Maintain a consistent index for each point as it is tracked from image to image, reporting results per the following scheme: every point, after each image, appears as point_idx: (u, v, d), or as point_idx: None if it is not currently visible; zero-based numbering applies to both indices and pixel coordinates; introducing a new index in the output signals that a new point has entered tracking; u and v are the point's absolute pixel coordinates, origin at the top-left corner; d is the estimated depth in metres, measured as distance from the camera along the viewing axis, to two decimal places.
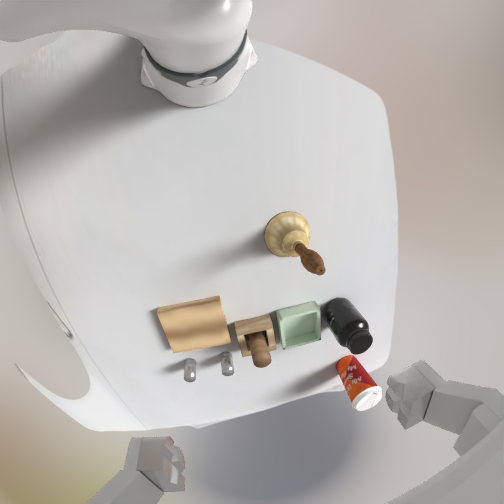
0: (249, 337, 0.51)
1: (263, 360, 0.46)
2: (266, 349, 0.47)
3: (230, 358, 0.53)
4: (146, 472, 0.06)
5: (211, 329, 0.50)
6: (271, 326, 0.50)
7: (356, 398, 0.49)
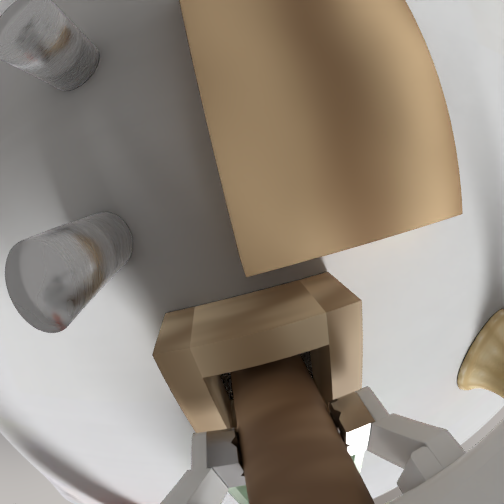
0: (294, 368, 0.09)
1: None
2: None
3: (112, 276, 0.08)
4: (218, 468, 0.06)
5: (352, 161, 0.08)
6: None
7: None
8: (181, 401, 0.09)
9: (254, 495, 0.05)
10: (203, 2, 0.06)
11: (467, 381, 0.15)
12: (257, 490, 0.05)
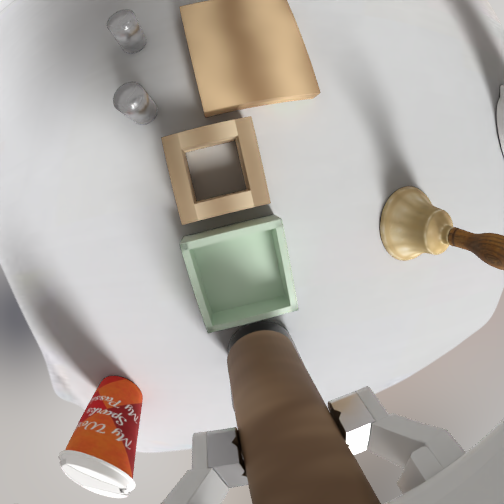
0: (293, 367, 0.09)
1: None
2: None
3: (148, 115, 0.19)
4: (219, 468, 0.06)
5: (248, 71, 0.19)
6: (260, 202, 0.21)
7: (93, 460, 0.14)
8: (169, 165, 0.19)
9: (258, 494, 0.05)
10: (191, 20, 0.17)
11: (390, 240, 0.25)
12: (261, 489, 0.05)
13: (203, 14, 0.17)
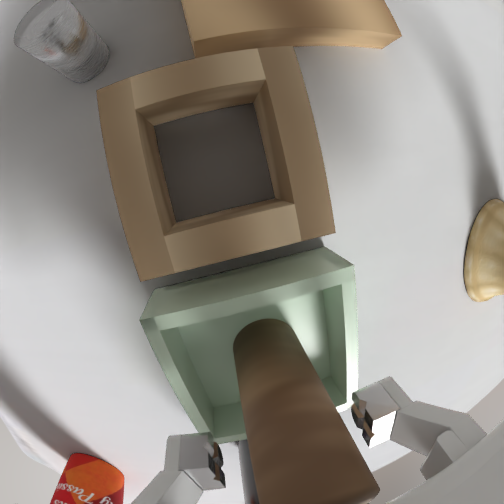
0: (294, 351, 0.10)
1: None
2: None
3: (86, 59, 0.07)
4: (189, 471, 0.06)
5: None
6: (314, 230, 0.09)
7: None
8: (108, 147, 0.08)
9: (259, 466, 0.06)
10: None
11: (476, 279, 0.14)
12: (262, 461, 0.06)
13: None
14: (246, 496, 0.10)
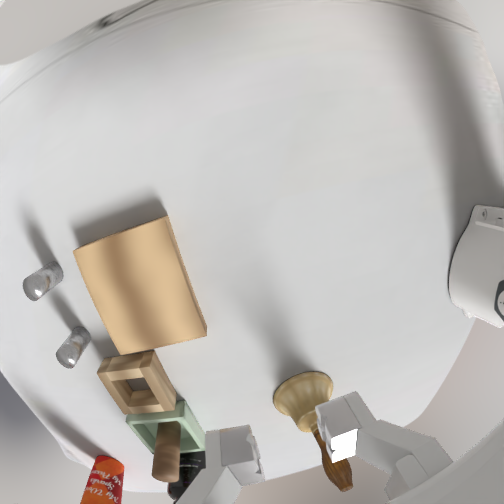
0: (171, 433, 0.27)
1: (167, 477, 0.22)
2: None
3: (84, 349, 0.25)
4: (233, 466, 0.06)
5: (143, 325, 0.25)
6: (167, 409, 0.27)
7: None
8: (106, 387, 0.25)
9: (153, 462, 0.23)
10: (86, 270, 0.22)
11: (281, 410, 0.31)
12: (153, 461, 0.23)
13: (94, 263, 0.22)
14: None
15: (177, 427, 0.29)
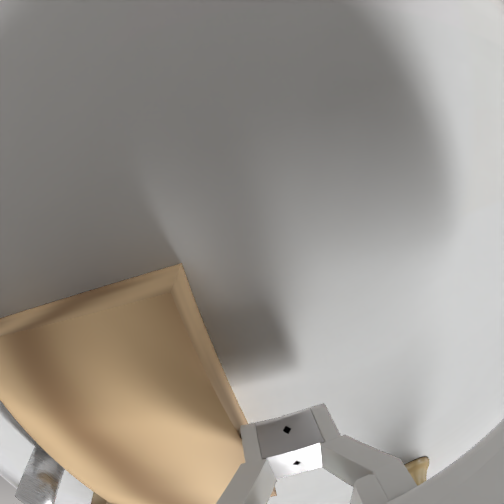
0: None
1: None
2: None
3: (60, 481, 0.08)
4: (273, 458, 0.06)
5: (144, 488, 0.08)
6: None
7: None
8: None
9: None
10: (0, 389, 0.06)
11: None
12: None
13: (7, 381, 0.06)
14: None
15: None
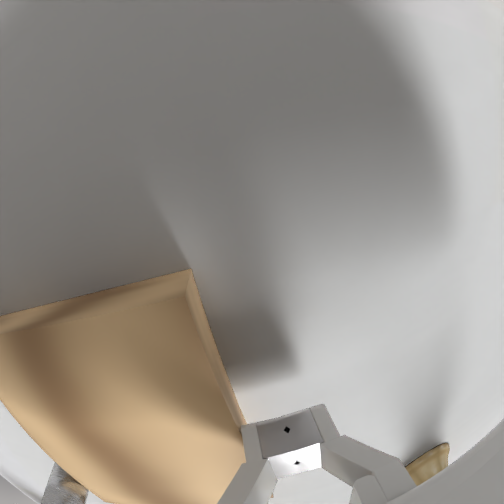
0: None
1: None
2: None
3: None
4: (274, 458, 0.06)
5: (142, 488, 0.08)
6: None
7: None
8: None
9: None
10: None
11: None
12: None
13: (7, 379, 0.06)
14: None
15: None
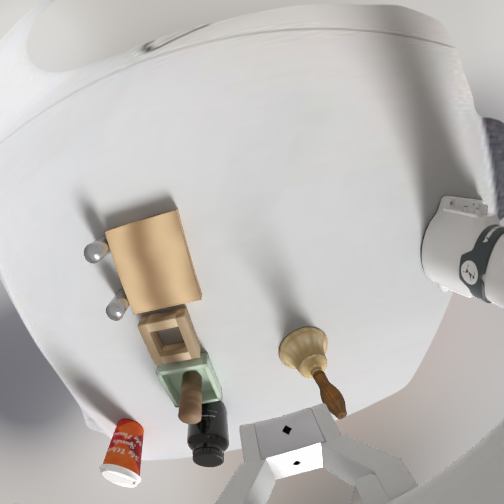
0: (194, 381, 0.37)
1: (191, 418, 0.31)
2: None
3: (127, 307, 0.34)
4: (272, 458, 0.06)
5: (154, 289, 0.34)
6: (194, 357, 0.36)
7: (120, 468, 0.30)
8: (144, 339, 0.35)
9: (179, 405, 0.33)
10: (114, 246, 0.32)
11: (285, 362, 0.41)
12: (180, 403, 0.33)
13: (121, 241, 0.32)
14: (188, 427, 0.38)
15: (199, 378, 0.39)
